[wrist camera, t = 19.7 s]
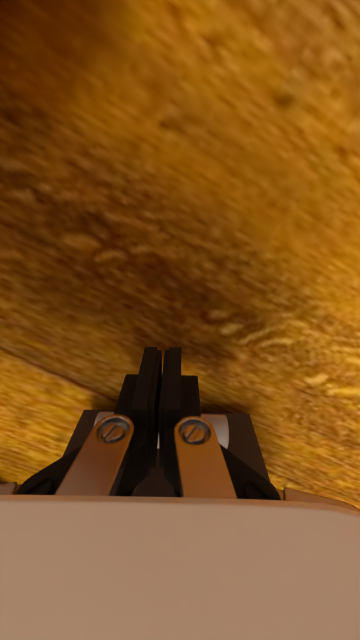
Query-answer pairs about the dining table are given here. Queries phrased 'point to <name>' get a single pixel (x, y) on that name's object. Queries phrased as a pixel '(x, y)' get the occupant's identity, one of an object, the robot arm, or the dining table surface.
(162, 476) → the drawer
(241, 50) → the dining table surface
